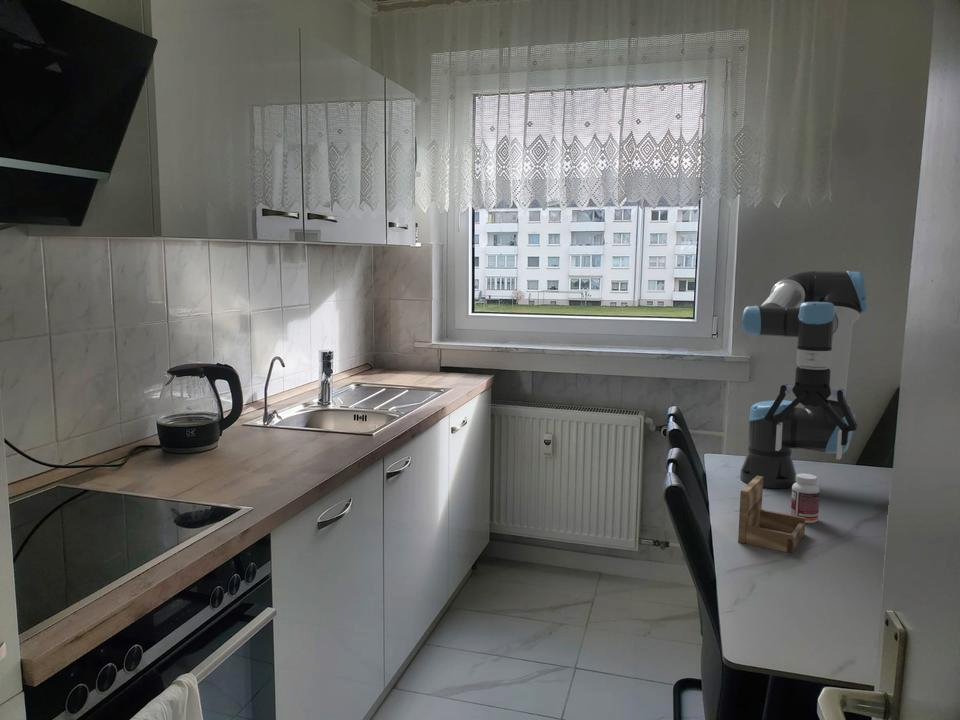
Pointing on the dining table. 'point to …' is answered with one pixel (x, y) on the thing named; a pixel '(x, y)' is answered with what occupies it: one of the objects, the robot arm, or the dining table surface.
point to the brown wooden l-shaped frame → (766, 522)
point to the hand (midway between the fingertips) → (807, 454)
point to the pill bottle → (805, 497)
